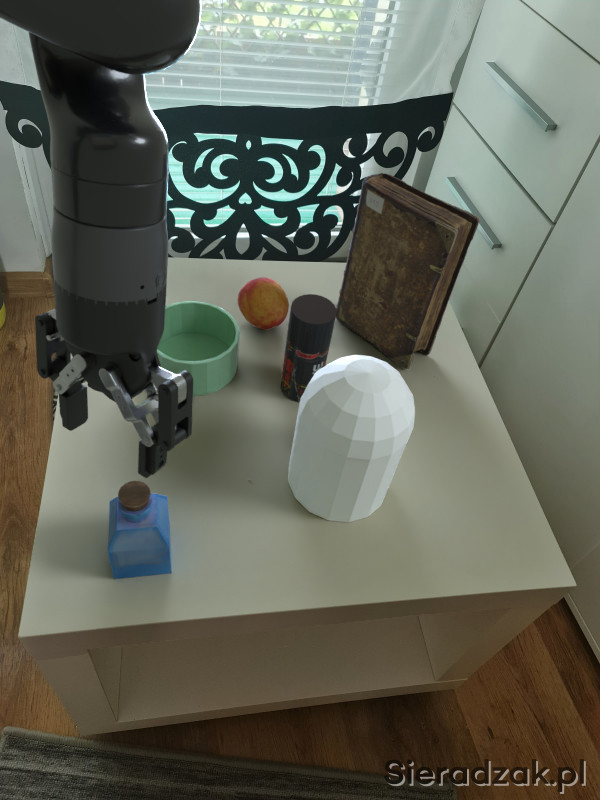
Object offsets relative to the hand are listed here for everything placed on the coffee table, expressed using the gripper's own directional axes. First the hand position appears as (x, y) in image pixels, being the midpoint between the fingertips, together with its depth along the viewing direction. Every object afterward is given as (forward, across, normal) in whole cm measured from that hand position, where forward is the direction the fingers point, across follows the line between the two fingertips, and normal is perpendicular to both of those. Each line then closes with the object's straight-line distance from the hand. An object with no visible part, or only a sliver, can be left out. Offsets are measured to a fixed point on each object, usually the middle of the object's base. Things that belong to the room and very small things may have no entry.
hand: (112, 447), depth 52 cm
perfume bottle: (+22, -2, +7) cm, 23 cm away
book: (+12, +2, +57) cm, 58 cm away
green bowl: (+15, -17, +33) cm, 40 cm away
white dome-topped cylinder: (+18, +11, +29) cm, 36 cm away
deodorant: (+15, -2, +40) cm, 42 cm away
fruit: (+13, -15, +47) cm, 51 cm away
